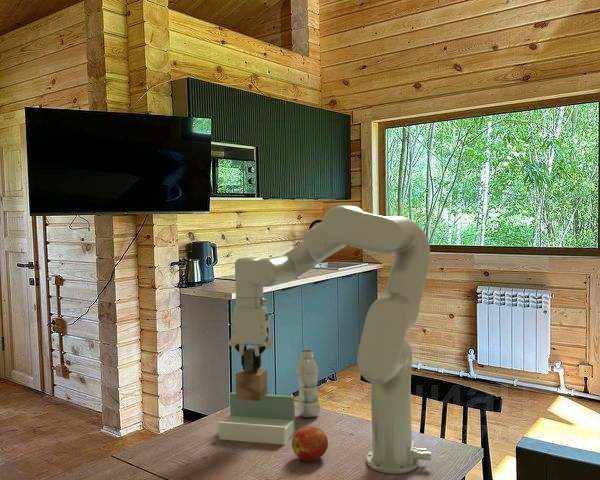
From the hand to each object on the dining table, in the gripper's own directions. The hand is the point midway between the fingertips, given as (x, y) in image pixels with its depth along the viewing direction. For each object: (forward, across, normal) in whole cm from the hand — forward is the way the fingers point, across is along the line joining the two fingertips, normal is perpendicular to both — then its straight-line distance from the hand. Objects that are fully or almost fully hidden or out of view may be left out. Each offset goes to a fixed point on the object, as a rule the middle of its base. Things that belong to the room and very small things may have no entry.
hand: (251, 368), depth 150 cm
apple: (+19, -19, +10) cm, 29 cm away
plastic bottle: (+19, -11, -18) cm, 29 cm away
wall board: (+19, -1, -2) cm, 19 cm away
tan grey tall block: (+8, 0, 0) cm, 8 cm away
